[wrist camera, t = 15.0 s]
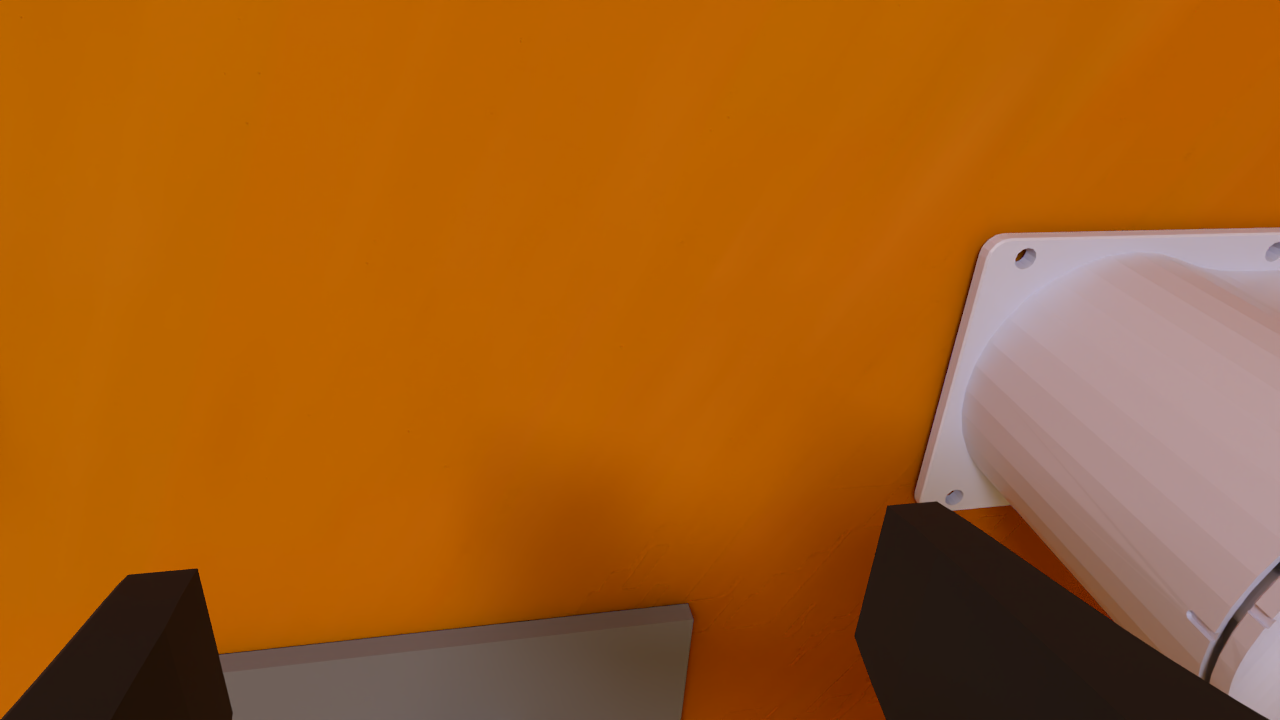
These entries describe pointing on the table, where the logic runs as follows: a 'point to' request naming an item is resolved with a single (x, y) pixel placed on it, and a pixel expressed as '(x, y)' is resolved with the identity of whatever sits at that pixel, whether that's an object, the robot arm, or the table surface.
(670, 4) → the table surface
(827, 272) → the table surface
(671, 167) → the table surface
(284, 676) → the charcoal mat
